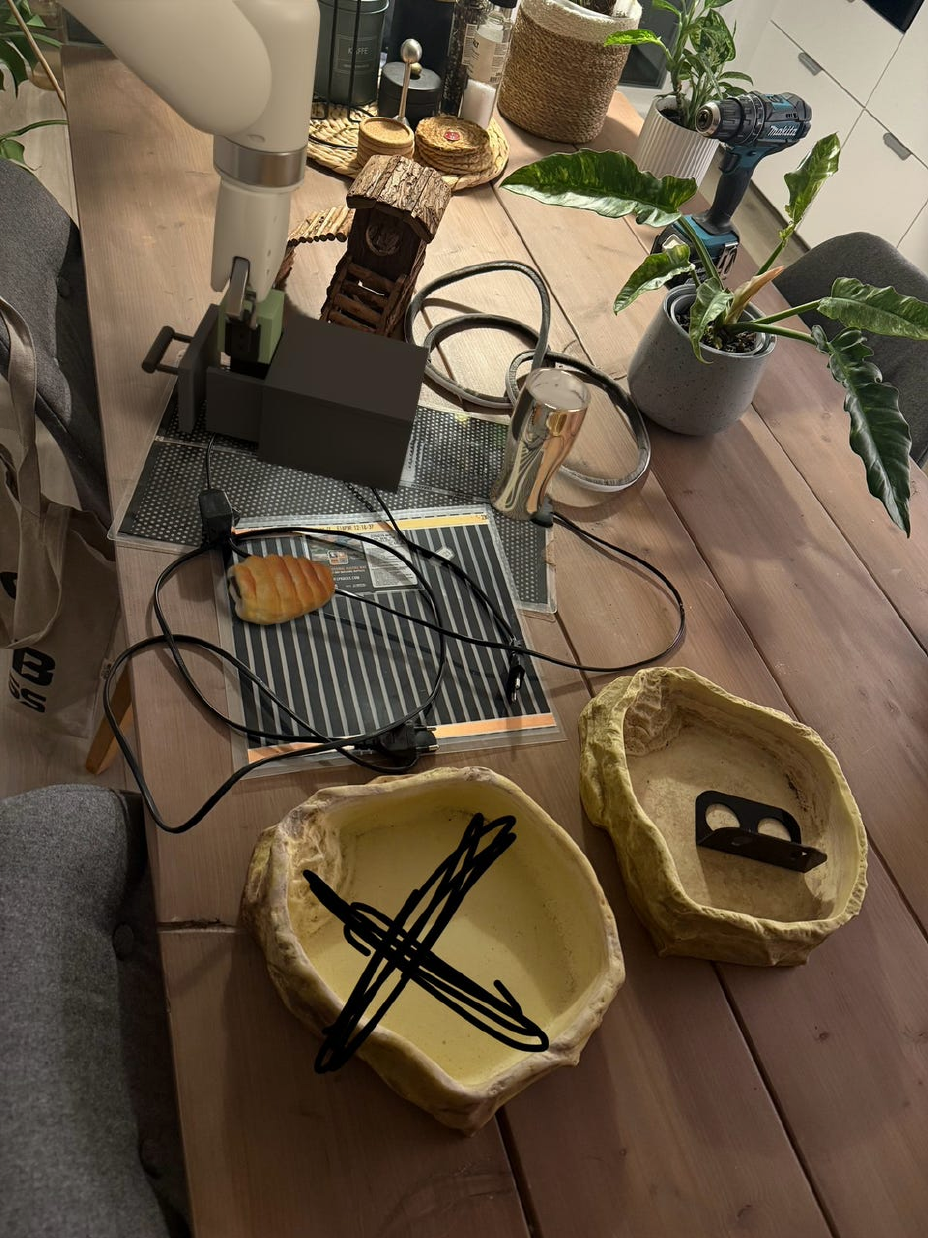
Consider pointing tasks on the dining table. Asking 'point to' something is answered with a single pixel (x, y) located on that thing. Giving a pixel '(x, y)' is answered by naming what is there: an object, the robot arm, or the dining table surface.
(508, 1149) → the dining table surface
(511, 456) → the beer glass
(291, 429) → the cabinet
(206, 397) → the drawer
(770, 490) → the dining table surface
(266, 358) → the block
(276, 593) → the pastry
